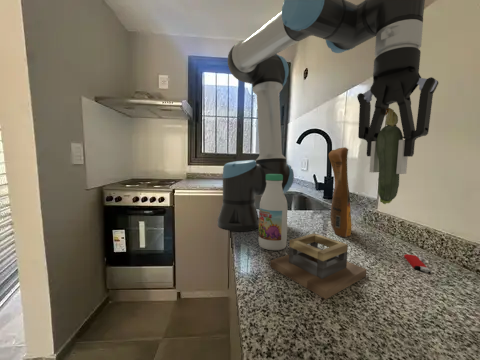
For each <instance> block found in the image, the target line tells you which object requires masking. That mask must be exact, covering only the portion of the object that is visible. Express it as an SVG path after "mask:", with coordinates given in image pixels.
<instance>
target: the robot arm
mask: <svg viewBox="0 0 480 360" xmlns="http://www.w3.org/2000/svg"><path fill="white" fill-rule="evenodd" d="M425 2H426V0H363V1H362V2H360V3H358V4H355V3H353V2H351V1H348V0H283V3H282V7H281V12H279V13H278V14H277V15H276V16H274V17H272V18H271V20H269V21H268V22H267V23H265V24H264V25H263V26H262V27H261V28H260V29H258V30H257V31H256V32H254V33H253V34H252V35H251V36H249V37H248V38H247V39H246V40H240V41H238V42H236V43H235V44H234V45H233V46H232V47H231V48H230V50H229V52H228V54H227V67H228V70H229V72H230V73H231V75H232V76H233V78H235V79H236V80H237V81H239V82H243V83H247V84H251V86H252V93H254V95H256V106H257V108H256V110H257V111H256V112H257V127H258V128H257V133H258V149H259V150H258V152H259V156H258V157H257V158H256V159H249V160H248V159H247V160H246V159H245V160H236V161H230V162H226V163H225V164H224V165H223V168H222V169H223V170H222V176H221V177H222V204H221V208H220V212H219V214H218V217H217V226H218V228H220V229H222V230H223V231H224V230H225V231H229V232H249V231H253V230H254V231H255V230H257V229H259V213H258V210H257V207H256V196H262V195H263V193H264V191H265V188H266V174H282V175H283V180H282V189H283V192H284V194H285V193H287V192H289V190H290V188H292V185H293V183H294V178H295V175H294V169H293V168H292V166H291V165H290V164H288V163H287V157H286V156H284V155H283V150H282V149H283V148H282V128H281V126H282V125H281V104H280V92H281V91H282V90H283V88H284V86H285V85H286V83H287V81H288V79H287V78H288V77H289V71H290V70H289V65H288V62H287V60H286V58H284V56H282V55H280V54H279V53H281V52H282V51H285V50H287V49H289V48H290V47H291V46H293V45H296V44H297V43H299V42H301V41H302V40H304V39H307V38H309V37H311V36H314V37H316V38H319V39H323V40H325V43H326V45H327V47H328V49H330V50H331V52H332V53H334V54H342V53H344V52H346V51H350V50H352V49H355V48H356V47H357V46H360V45H362V44H363V43H365V42H367V41H369V40H371V39H373V38H375V46H374V57H375V59H374V60H373V71H372V75H373V76H372V84H371V86H370V87H369V88H370V89H369V90H367V91H365V92H364V93H362V92H361V93H360V92H359V93H358V94H357V97H356V98H357V101H358V104H359V107H358V108H359V112H358V113H359V115H358V134H357V135H358V136H357V137H358V139H360V140H361V139H362V140H364V141H366V156H367V157H370V160H369V173H379V159H378V155H377V137H378V134H379V132H380V131H381V129H382V128H383V124H384V120H385V117H386V116H385V113H386V111H387V110H386V109H387V108H390V105H392V104H394V103H396V105H397V106H398V110H399V116H400V123H401V127H402V135H403V140H399V146H398V158H397V171H396V174H399V175H406V174H407V170H408V169H407V168H408V160H409V159H408V158H409V157H413V156H414V154H415V147H416V146H415V144H416V143H415V142H416V140H417V139H418V138H421V137H425V136H427V135H428V134H429V128H430V122H431V121H430V120H431V115H432V114H431V113H432V106H433V98H434V97H433V96H434V93H435V91H436V89H437V87H438V86H439V80H437V79H436V78H434V77H433V76H431V77H428V78H425V77H422V76H421V75H420V73H419V72H420V66H421V65H420V64H421V63H420V62H421V47H422V40H423V27H424V12H425V11H424V10H425V4H426V3H425ZM417 88H418V90H419V91H420V92H419V93H420V94H419V101H418V108H417V118H416V124H415V123H414V116H413V111H412V100H411V95H412V94H413V93H414V91H415V90H416V89H417ZM373 96H374V98H375V99H376V100H375V103H374V110H373V111H374V112H373V115H372V118H371V110H372V109H371V106H372V105H371V101H372V99H373Z"/></svg>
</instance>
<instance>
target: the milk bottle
mask: <svg viewBox="0 0 480 360" xmlns="http://www.w3.org/2000/svg"><path fill="white" fill-rule="evenodd" d="M282 180H283V175H282V174H266V188H265V191H264V193H263V195H261V198H260V202H259V211H258V212H259V213H258V217H259V227H258V245H259V247H260V248H262V249H265V250H266V251H267V250H268V251H282V250H284V249H285V248H286V246H287V240H288V213H289V212H288V201H287V198H286V196H285V195H286V194H285V193H284V192H283V189H282Z"/></svg>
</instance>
